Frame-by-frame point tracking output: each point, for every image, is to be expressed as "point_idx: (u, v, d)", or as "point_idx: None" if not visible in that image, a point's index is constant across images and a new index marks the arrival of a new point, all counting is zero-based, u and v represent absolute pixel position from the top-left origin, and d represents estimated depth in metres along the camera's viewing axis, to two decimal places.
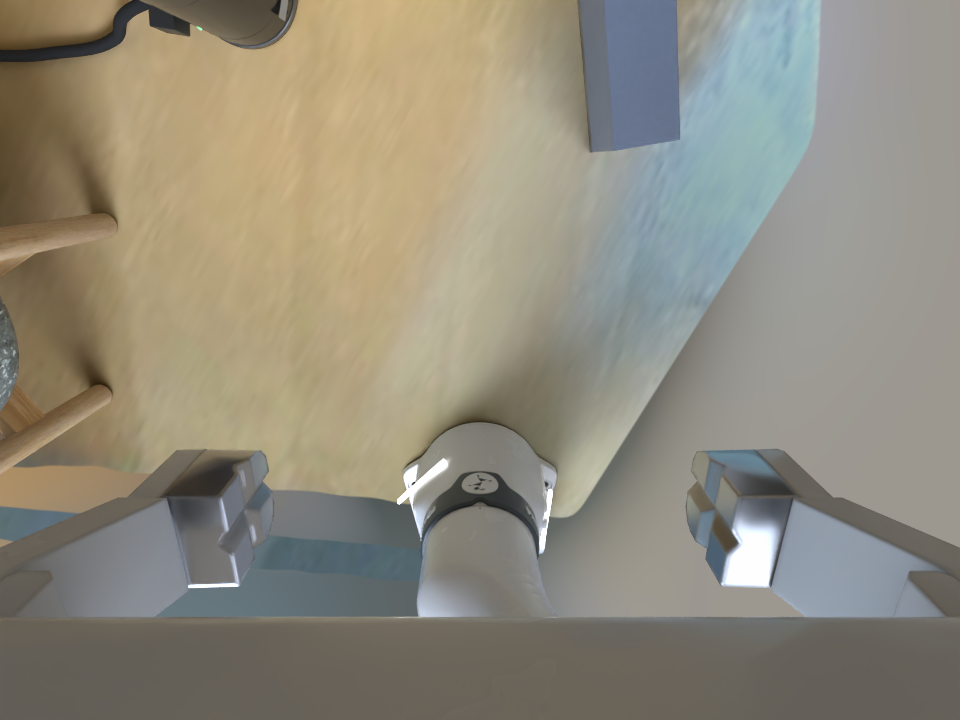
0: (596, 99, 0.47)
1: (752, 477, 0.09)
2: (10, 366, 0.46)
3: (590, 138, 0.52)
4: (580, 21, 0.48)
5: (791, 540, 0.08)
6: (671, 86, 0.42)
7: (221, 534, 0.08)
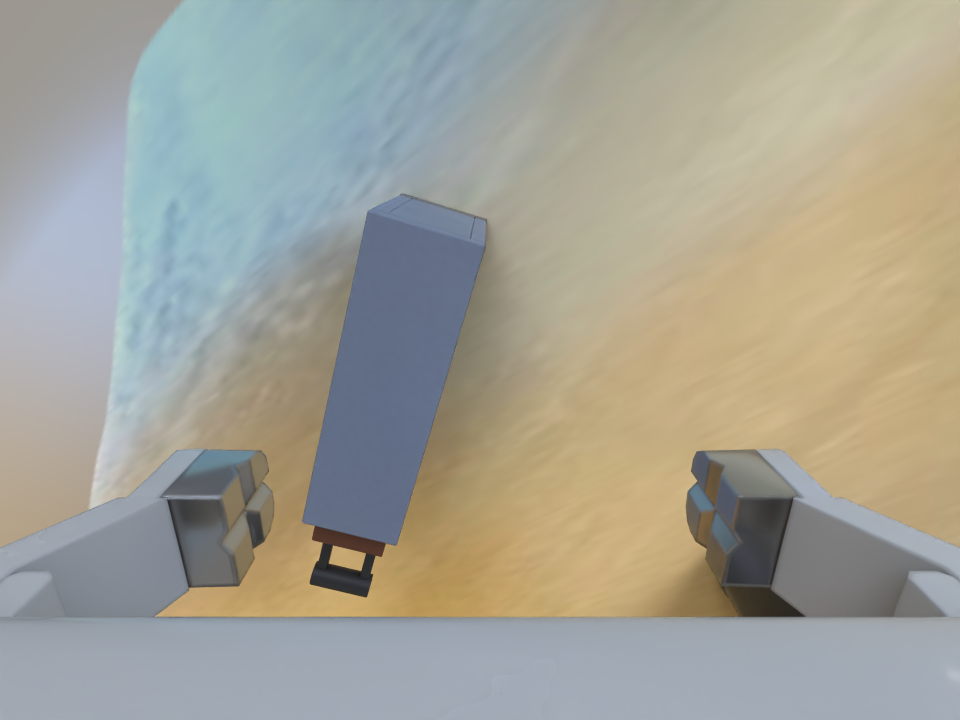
0: None
1: (752, 477, 0.09)
2: None
3: None
4: None
5: (791, 540, 0.08)
6: (362, 299, 0.25)
7: (222, 534, 0.08)
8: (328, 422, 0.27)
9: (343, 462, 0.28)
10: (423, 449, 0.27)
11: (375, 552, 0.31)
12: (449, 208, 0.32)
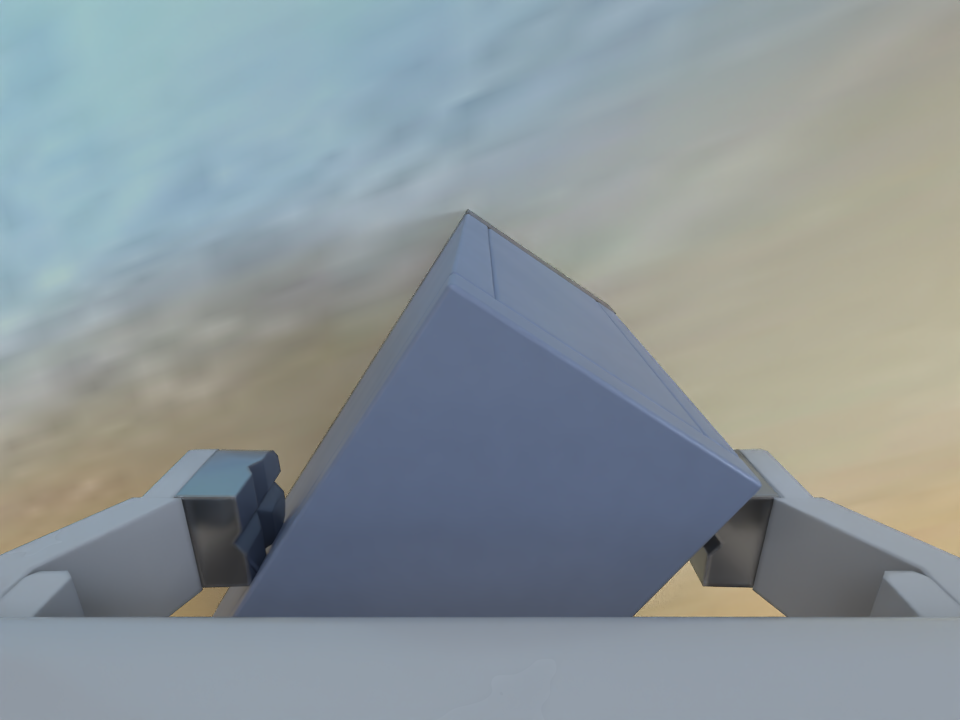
0: None
1: None
2: None
3: None
4: None
5: (772, 540, 0.08)
6: (338, 525, 0.08)
7: (235, 534, 0.08)
8: None
9: None
10: None
11: None
12: (550, 266, 0.16)
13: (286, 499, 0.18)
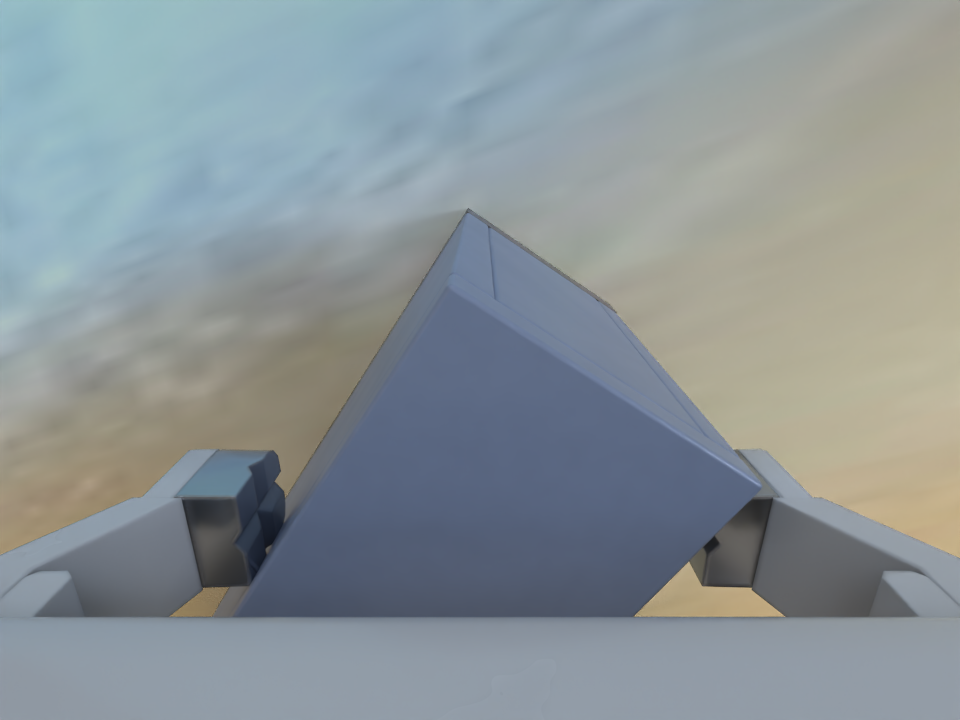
0: None
1: None
2: None
3: None
4: None
5: (771, 540, 0.08)
6: (338, 526, 0.08)
7: (235, 534, 0.08)
8: None
9: None
10: None
11: None
12: (551, 265, 0.16)
13: (286, 498, 0.18)
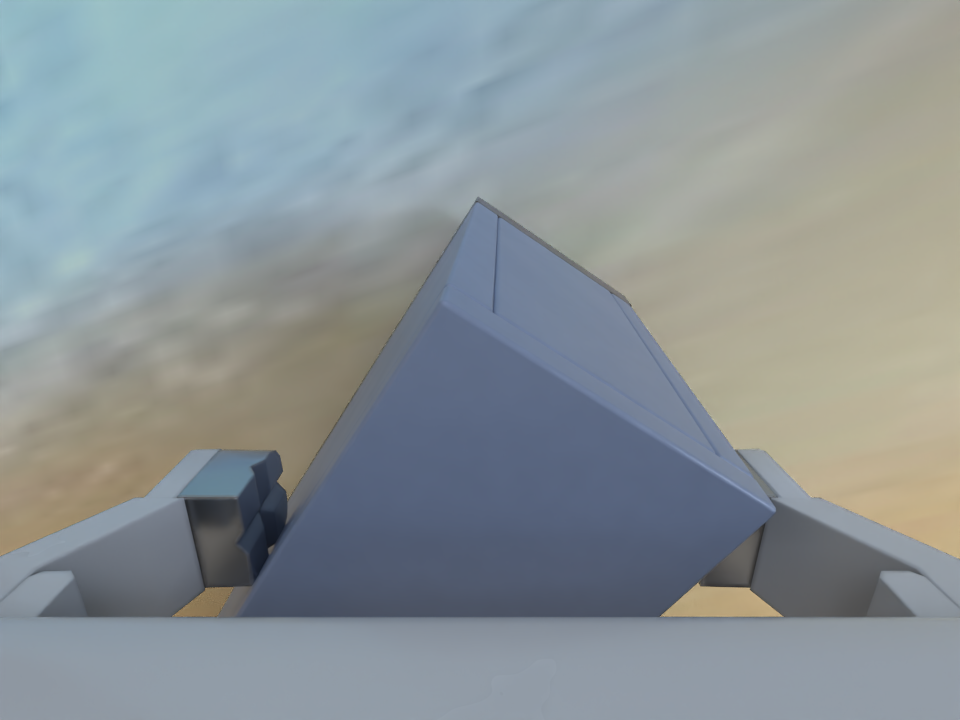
0: None
1: None
2: None
3: None
4: None
5: (769, 540, 0.08)
6: (332, 542, 0.08)
7: (238, 534, 0.08)
8: None
9: None
10: None
11: None
12: (564, 256, 0.16)
13: (296, 488, 0.18)
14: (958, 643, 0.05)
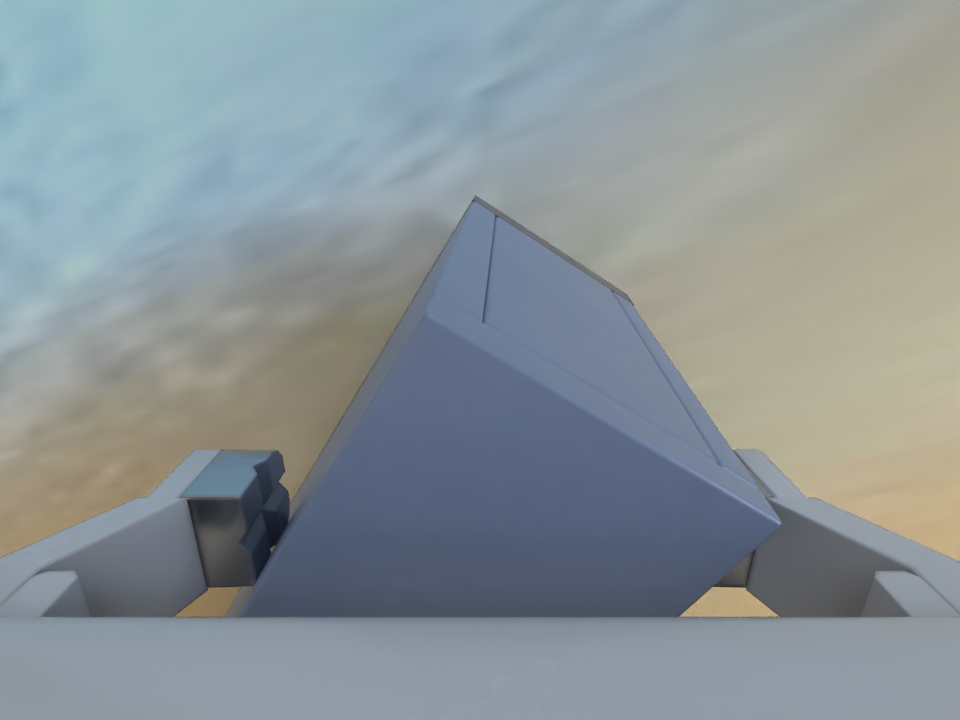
0: None
1: None
2: None
3: None
4: None
5: (765, 540, 0.08)
6: (322, 559, 0.07)
7: (241, 534, 0.08)
8: None
9: None
10: None
11: None
12: (563, 255, 0.15)
13: (297, 493, 0.18)
14: (959, 643, 0.05)
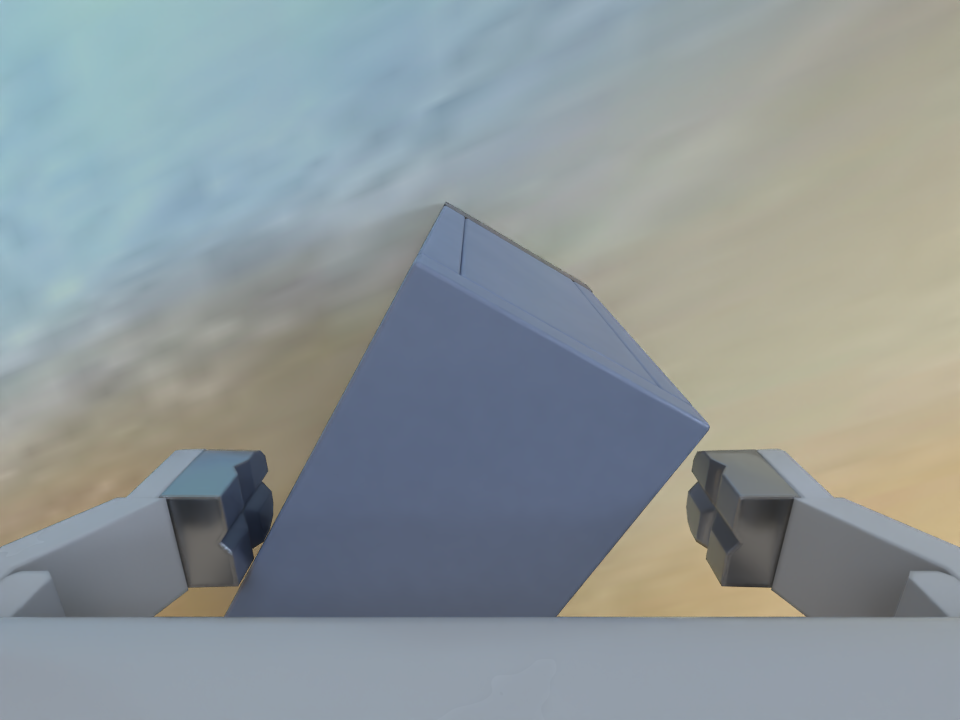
0: None
1: (753, 477, 0.09)
2: None
3: None
4: None
5: (792, 540, 0.08)
6: (334, 487, 0.09)
7: (220, 534, 0.08)
8: None
9: None
10: None
11: None
12: (528, 251, 0.17)
13: None
14: (958, 643, 0.05)
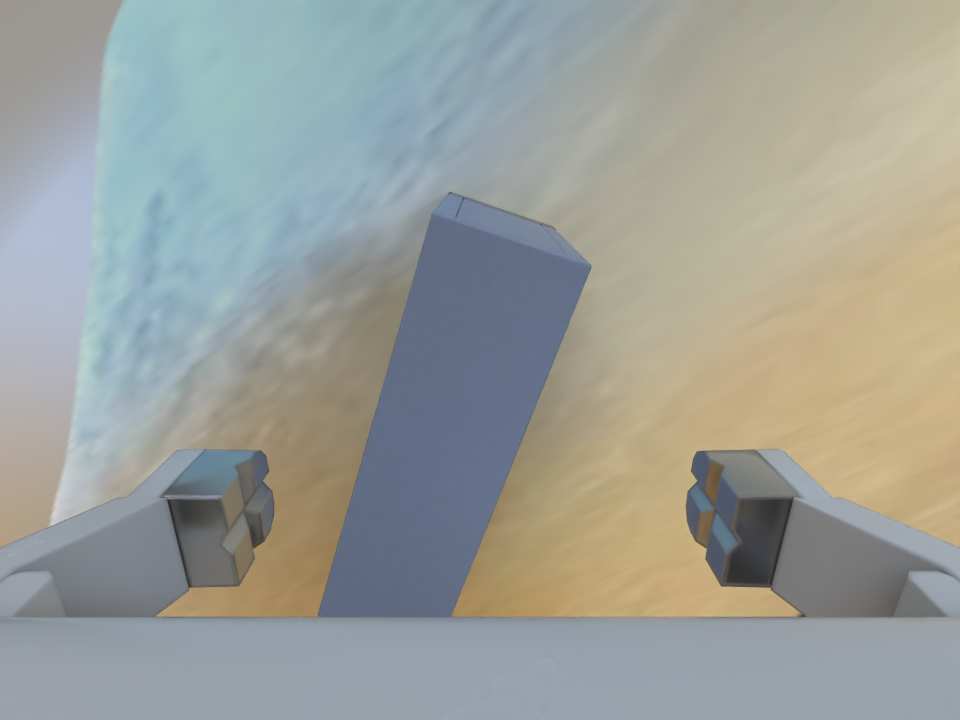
0: None
1: (752, 477, 0.09)
2: None
3: None
4: None
5: (791, 540, 0.08)
6: (415, 334, 0.18)
7: (221, 534, 0.08)
8: (359, 493, 0.20)
9: (376, 543, 0.21)
10: (484, 529, 0.21)
11: None
12: (508, 212, 0.26)
13: None
14: (959, 643, 0.05)
